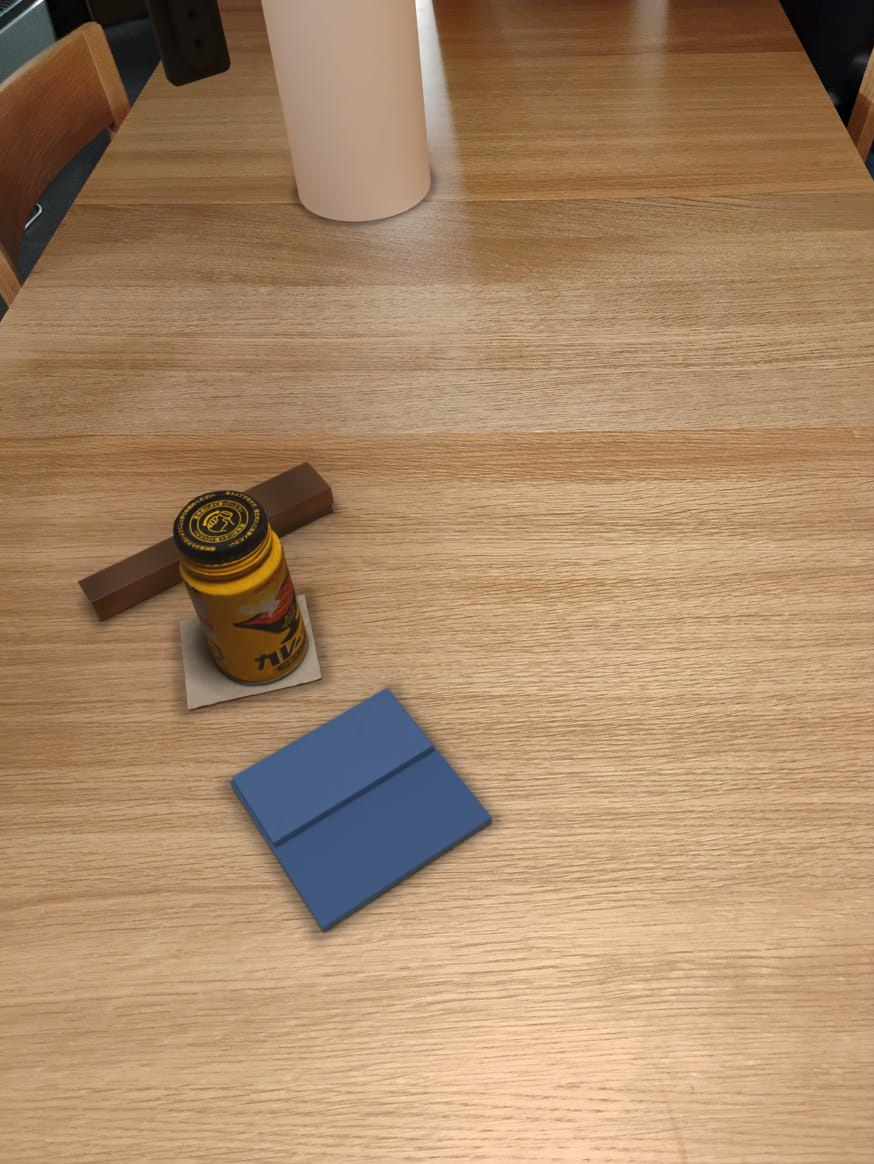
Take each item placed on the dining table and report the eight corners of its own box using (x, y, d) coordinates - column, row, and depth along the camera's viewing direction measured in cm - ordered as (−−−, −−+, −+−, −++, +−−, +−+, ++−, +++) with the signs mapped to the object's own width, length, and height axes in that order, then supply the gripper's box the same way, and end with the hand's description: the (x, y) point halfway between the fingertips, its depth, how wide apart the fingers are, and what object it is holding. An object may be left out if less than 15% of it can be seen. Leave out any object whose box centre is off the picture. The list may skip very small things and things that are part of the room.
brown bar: (103, 627, 67) (91, 604, 65) (84, 595, 69) (72, 572, 67) (336, 511, 73) (331, 487, 71) (312, 485, 75) (307, 460, 73)
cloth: (323, 932, 53) (319, 923, 52) (231, 786, 59) (226, 776, 58) (492, 822, 57) (491, 811, 56) (390, 694, 62) (387, 683, 61)
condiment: (322, 679, 63) (285, 549, 54) (188, 711, 62) (127, 583, 53) (305, 596, 68) (268, 462, 58) (179, 624, 67) (122, 492, 57)
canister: (438, 154, 106) (421, -68, 90) (421, 222, 97) (399, -10, 82) (313, 154, 107) (274, -65, 91) (285, 220, 99) (238, -8, 83)
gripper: (-132, -446, 41) (32, 15, 55) (4, -417, 32) (160, 128, 45) (43, -466, 44) (158, -20, 57) (215, -444, 34) (305, 80, 48)
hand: (159, 45), depth 51 cm, fingers open, 9 cm apart
